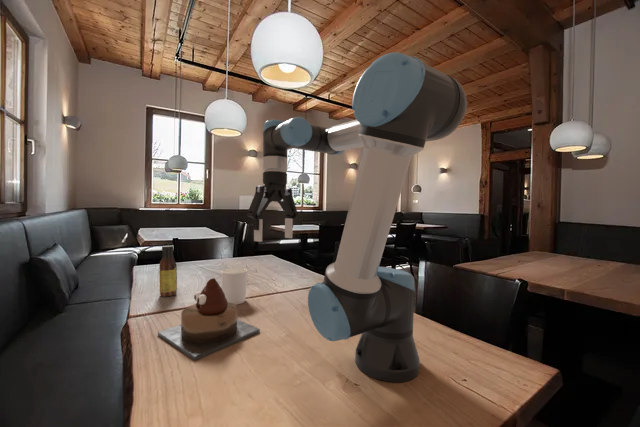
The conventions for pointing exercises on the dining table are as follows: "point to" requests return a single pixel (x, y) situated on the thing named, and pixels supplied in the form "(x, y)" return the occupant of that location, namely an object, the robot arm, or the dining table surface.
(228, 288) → the candle holder
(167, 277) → the sauce bottle
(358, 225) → the robot arm
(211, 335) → the post stand
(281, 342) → the dining table surface
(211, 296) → the poop emoji
